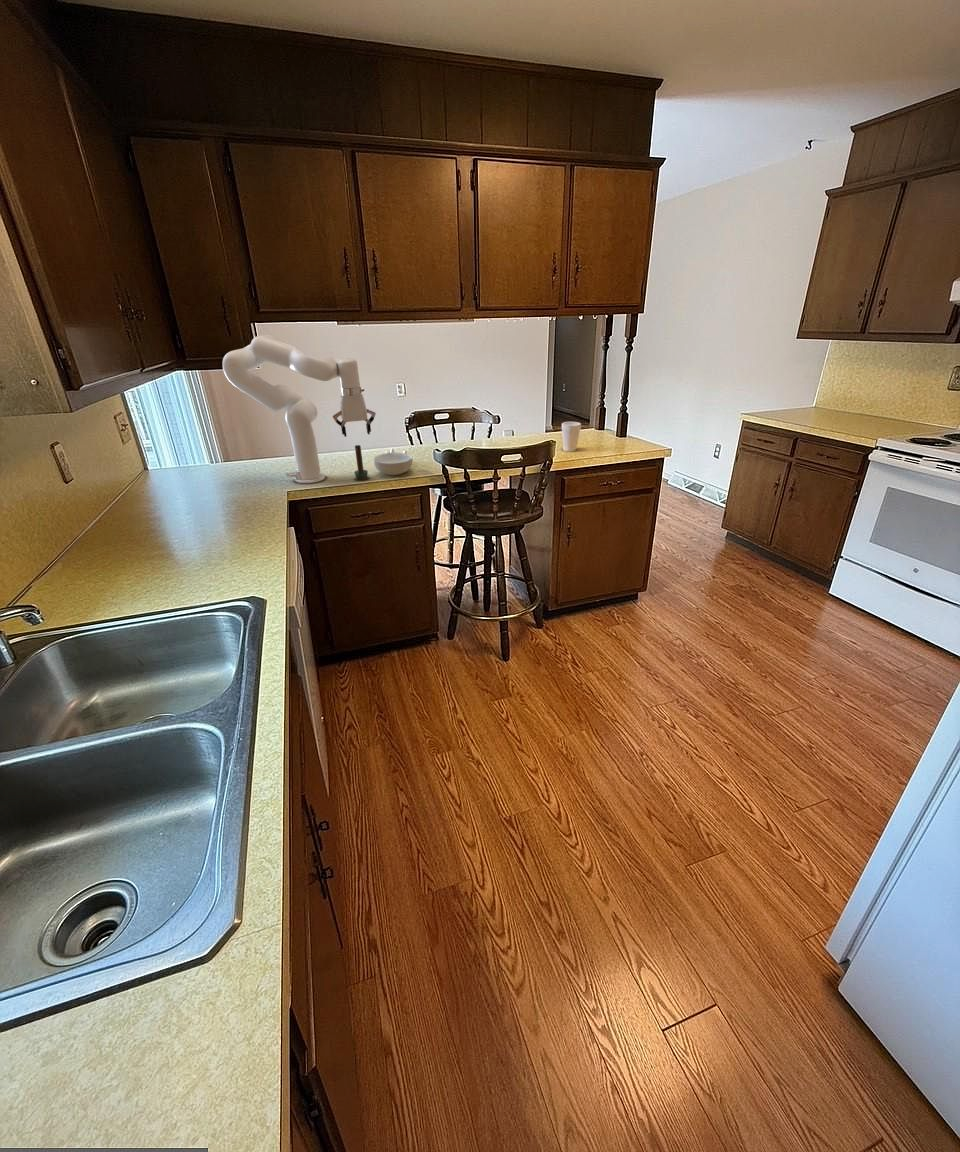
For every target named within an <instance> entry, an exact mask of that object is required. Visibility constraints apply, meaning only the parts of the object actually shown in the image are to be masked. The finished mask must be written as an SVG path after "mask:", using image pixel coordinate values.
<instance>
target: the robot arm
mask: <svg viewBox="0 0 960 1152" xmlns="http://www.w3.org/2000/svg"><path fill="white" fill-rule="evenodd" d="M268 362H269V363H272V364H275V365H279V366H281V367H284V368H287V369H290V370H292V371H294V372H296V373H298V374H301V375H302V376H304V377H308V378H311V379H314V380H317V381H322V382H329V381H332V380H333V379H336V378H339V383H340V391H341V395H339V407H340V410H339V411H338V412H336V413H335V414H333V416H332V418H333V420H334V421H335V423H336V424H337V425H339V426H340V428H341V429H340V430H341V435H343V436H344V437H345V438H346V437H347V429H346V426H345V425H346V424H347V423H350V422H361V421H365V423H366V424H365V427H366V433H367V435H371V432H372V429H371V425H372V423H373V421H374V420H375V417H376V411H373V410H370V409H369V408H367V405H366V402H365V397H364V394H362V393H363V392H365V387H361V383H360V375H359V365H358V361H357V360H356V359H355V358H349V357H347V358H346V357H345V358H333V357H327V358H324V359H320V358H316V357H313V356H310V355H307V354H305V353H303V352H302V351H300V350H299V348H298V346H295V345H293V344H289V343H286V342H283V341H280V340H279V339H278V338H277V337H276V336H274V335H272V334H261V335H257V336H254V338H252V339H251V342H250V344H248V345H247V346H244V347H243V348H238V349H234V350H230V351H228V352H227V353H226V354H225V355H224V356H223V358H222V370H223V374H224V375H225V377H226V379H227V380H228V381H229V383H230V384H231V385H233V387H235V388H236V389H238V390H239V391H240V392H242V393H244V394H246V395H247V396H249V397H250V398H251V399H253V400H254V401H256V402H258V403H259V404H261V405H262V406H264V407H265V408H267V409H268V410H270V411H272V412H274V413H279V412H282V411H285V422H286V426H287V428H288V431H289V435H290V440H291V445H292V450H293V456H294V460H295V461H294V462H295V466H296V469H295V470H293V471H286V477H288V478H294V481H295V482H297V483H298V484H315V483H319V482H321V481H324V480H325V479H326V475H325V474H324V473H323V472H321V465H320V459H319V453H318V447H317V442H316V436H315V432H314V428H313V426H312V423H313V422H314V421H315V420H316V419H317V417H318V409H317V407H316V405H315V403H313V402H312V401H311V400H310V399H308V398H306V397H305V396H303V395H302V394H301V393H299V392H297V391H296V390H294V388H291V387H290V386H288V385H286V384H276V385H272V384H270V383H269V382H267V381H266V380H264V379H263V378H261V377H260V376H258V375H256V374H253V373H252V372H251V371H253V370H256V369H257V368H259V367H261V366H263V365H264V364H266V363H268ZM368 414H369V415H370V417H369V418H368ZM339 417H341V419H342V420H341V421H340V420H339V419H338V418H339Z"/></svg>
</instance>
